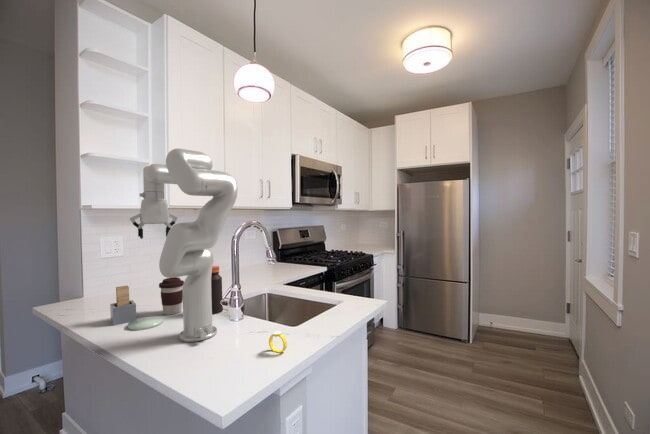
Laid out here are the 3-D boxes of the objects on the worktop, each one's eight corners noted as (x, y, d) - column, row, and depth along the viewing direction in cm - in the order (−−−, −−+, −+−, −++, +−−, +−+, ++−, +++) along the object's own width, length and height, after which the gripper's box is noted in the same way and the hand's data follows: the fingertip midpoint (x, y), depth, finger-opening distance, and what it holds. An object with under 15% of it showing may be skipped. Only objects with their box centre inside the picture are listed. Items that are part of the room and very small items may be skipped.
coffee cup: (189, 309, 140) (188, 276, 140) (176, 316, 130) (175, 281, 130) (168, 308, 141) (167, 276, 141) (154, 316, 131) (153, 281, 131)
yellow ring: (268, 352, 95) (266, 333, 95) (273, 348, 97) (272, 330, 97) (283, 355, 92) (281, 335, 92) (289, 351, 94) (287, 331, 94)
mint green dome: (166, 324, 121) (166, 321, 121) (130, 332, 113) (130, 329, 113) (159, 317, 130) (159, 314, 130) (125, 324, 122) (125, 321, 122)
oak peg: (130, 320, 126) (128, 287, 126) (118, 323, 124) (117, 288, 124) (128, 318, 129) (127, 285, 129) (117, 320, 127) (116, 287, 127)
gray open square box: (136, 320, 126) (135, 303, 126) (112, 325, 121) (112, 308, 121) (133, 316, 132) (132, 299, 132) (110, 320, 127) (110, 303, 127)
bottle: (226, 310, 136) (224, 266, 136) (213, 315, 130) (212, 268, 130) (215, 308, 140) (214, 265, 139) (203, 313, 134) (201, 267, 134)
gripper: (130, 195, 118) (131, 239, 119) (178, 196, 129) (179, 237, 130) (128, 196, 124) (129, 238, 125) (174, 197, 135) (175, 235, 135)
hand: (154, 237), depth 127 cm, fingers open, 9 cm apart
